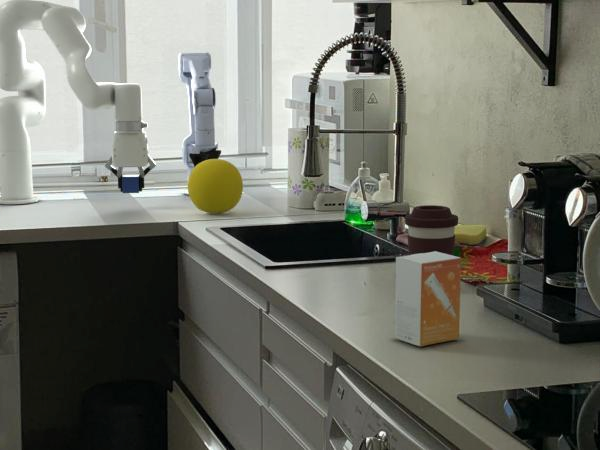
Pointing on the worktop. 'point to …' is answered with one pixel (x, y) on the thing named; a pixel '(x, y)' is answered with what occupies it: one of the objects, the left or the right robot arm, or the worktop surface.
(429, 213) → the coffee cup
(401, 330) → the small box
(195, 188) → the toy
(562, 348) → the worktop surface
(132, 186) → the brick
